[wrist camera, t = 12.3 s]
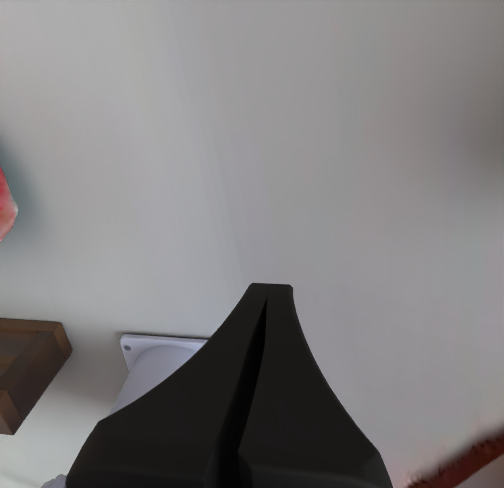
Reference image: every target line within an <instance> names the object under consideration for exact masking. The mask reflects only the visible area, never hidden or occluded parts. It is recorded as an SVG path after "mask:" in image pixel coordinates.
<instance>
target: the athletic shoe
mask: <svg viewBox="0 0 504 488" xmlns="http://www.w3.org/2000/svg"><path fill="white" fill-rule="evenodd" d="M17 214H18V206H17V204H16V203H15V201H14V200H13V198H12V195H11V192H10V190H9V187H8V184H7V181H6V179H5V176H4V173H3V171H2V169H1V167H0V242H1V240H2V239H3V238H4V237H5V236H6V235H7V233H8V232H9V231H10V230H11V229H12V227H13V224H14V221H15V218H16V216H17Z"/></svg>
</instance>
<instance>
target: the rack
mask: <svg viewBox="0 0 504 488" xmlns="http://www.w3.org/2000/svg"><path fill="white" fill-rule="evenodd" d="M71 353H72V349H71V346H70V343H69V341H68V338H67V336H66V333H65V331H64V328H63V325H62V323H60V322H45V321H31V320H16V319H2V318H0V434H6V435H14V434H15V433H16V431H17V430H18V429H19V427H20V426H21V424H22V423H23V421H24V420H25V419H26V417H27V416H28V414H29V413H30V411H31V410H32V409H33V407H34V406H35V404H36V403H37V401H38V400H39V399H40V397H41V396H42V394H43V393H44V392H45V390H46V389H47V387H48V386H49V384H50V383H51V382H52V380H53V379H54V377H55V376H56V375H57V373H58V372H59V370H60V369H61V367H62V366H63V365H64V363H65V361H66V360H67V359H68V358H69V356H70V355H71Z"/></svg>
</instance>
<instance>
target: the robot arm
mask: <svg viewBox="0 0 504 488" xmlns="http://www.w3.org/2000/svg"><path fill="white" fill-rule="evenodd" d="M120 345H121V348H122V351H123V355H124V358H125V361H126V365H127V368H128V371H129V375H128V377H127V379H126V381H125V383H124V385H123V387H122V389H121V391H120V393H119V395H118V397H117V398H116V400H115V402H114V404H113V406H112V408H111V410H110V412H109V414H108V416H107V417H106V418H104V419H102V420H100V421H99V422H98V423H97V425H96V426H95V428H94V429H93V431H92V432H91V434H90V435H89V437H88V438H87V440H86V441H85V443H84V445H83V446H82V448H81V450H80V452H79V454H78V456H77V458H76V460H75V462H74V463H73V465H72V467H71V469H70V471H69V473H68V475H67V476H65V475H63V474H60V475H58V476H57V477H56V478H55V479H52V480H50V481H48V482H46V483H44V484H43V486H42V487H41V488H393V486H392V483H391V480H390V477H389V475H388V472H387V470H386V467H385V465H384V462H383V460H382V458H381V455H380V453H379V451H378V450H377V449H376V448H375V446H374V445H373V444H372V443H371V442H370V441H369V440H368V438H367V437H366V436H365V435H364V433H363V432H362V431H361V430H360V429H359V427H358V426H357V425H356V424H355V422H354V421H353V420H352V418H351V417H350V416H349V414H348V413H347V412H346V410H345V409H344V407H343V406H342V404H341V403H340V401H339V400H338V398H337V397H336V395H335V394H334V392H333V391H332V389H331V388H330V386H329V385H328V383H327V381H326V379H325V378H324V376H323V374H322V373H321V371H320V369H319V367H318V365H317V363H316V361H315V359H314V357H313V355H312V353H311V351H310V349H309V346H308V344H307V342H306V339H305V337H304V334H303V331H302V329H301V326H300V323H299V320H298V317H297V313H296V309H295V305H294V300H293V287H292V286H291V285H286V284H265V283H252V284H251V285H249V287H248V289H247V290H246V292H245V293H244V295H243V297H242V298H241V300H240V301H239V302H238V304H237V305H236V307H235V308H234V309H233V311H232V312H231V313H230V315H229V316H228V317H227V319H226V320H225V321H224V322H223V324H222V325H221V326H220V327H219V328H218V329H217V331H216V332H215V333H214V334H213V335H212V336H211V337H210V339H209V340H200V339H186V338H172V337H158V336H144V335H130V334H124V335H122V337H121V338H120Z"/></svg>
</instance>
